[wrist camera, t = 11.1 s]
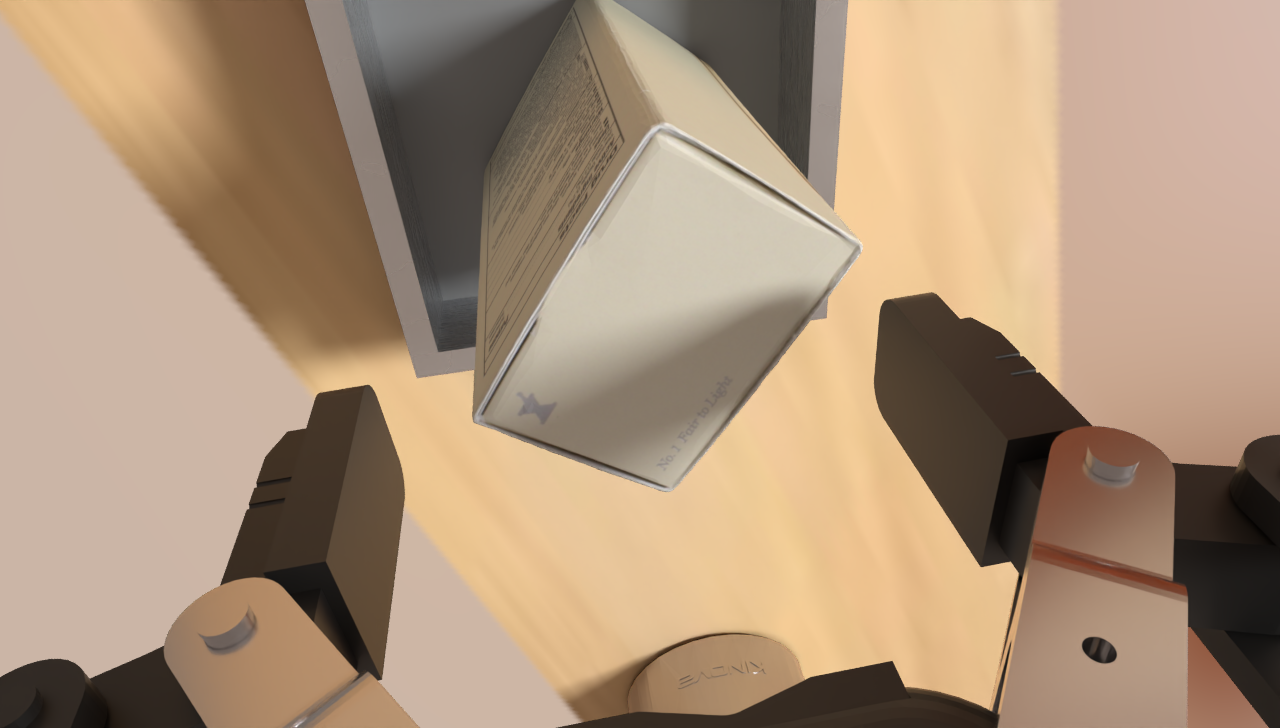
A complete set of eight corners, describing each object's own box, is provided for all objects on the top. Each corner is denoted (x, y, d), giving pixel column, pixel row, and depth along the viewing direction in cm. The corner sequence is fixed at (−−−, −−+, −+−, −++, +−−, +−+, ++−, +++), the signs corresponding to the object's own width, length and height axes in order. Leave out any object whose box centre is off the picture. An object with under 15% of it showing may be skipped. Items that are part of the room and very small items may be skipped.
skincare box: (603, 235, 26) (670, 508, 16) (474, 169, 24) (460, 432, 14) (716, 57, 23) (882, 252, 13) (581, -32, 21) (655, 118, 11)
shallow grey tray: (797, 271, 27) (826, 318, 25) (424, 325, 27) (417, 378, 24) (815, -172, 20) (859, -167, 18) (300, -120, 19) (272, -107, 17)
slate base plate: (808, 276, 29) (816, 286, 28) (410, 332, 28) (408, 345, 27) (833, -208, 20) (844, -209, 20) (268, -153, 19) (260, -151, 19)
